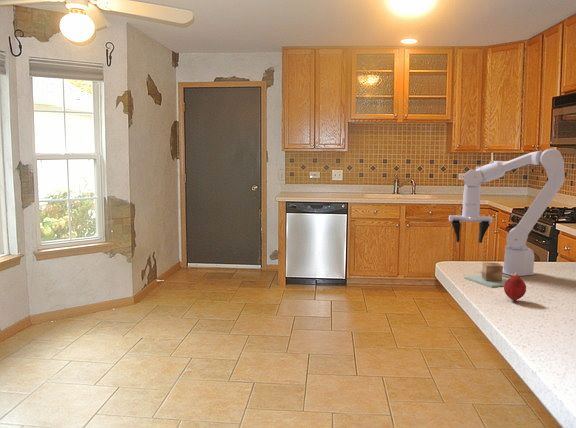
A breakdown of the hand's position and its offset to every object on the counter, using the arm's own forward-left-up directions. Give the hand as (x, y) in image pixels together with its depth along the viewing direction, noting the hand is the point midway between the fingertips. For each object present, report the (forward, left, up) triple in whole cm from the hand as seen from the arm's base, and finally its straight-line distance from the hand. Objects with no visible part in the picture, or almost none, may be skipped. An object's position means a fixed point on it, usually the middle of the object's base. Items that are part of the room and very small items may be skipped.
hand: (468, 242), depth 191 cm
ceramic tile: (+6, +18, -9) cm, 21 cm away
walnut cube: (+6, +18, -9) cm, 20 cm away
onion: (+16, +37, -10) cm, 41 cm away
